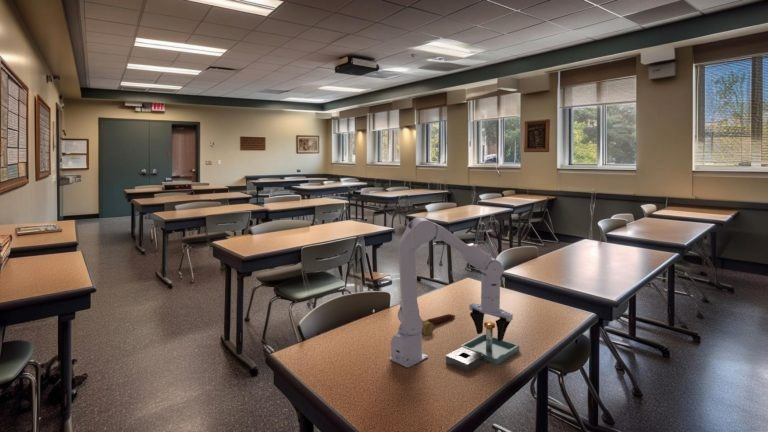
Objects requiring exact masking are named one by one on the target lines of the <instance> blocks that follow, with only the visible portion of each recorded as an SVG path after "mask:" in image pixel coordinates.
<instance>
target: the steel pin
mask: <svg viewBox="0 0 768 432" xmlns="http://www.w3.org/2000/svg"><path fill="white" fill-rule="evenodd" d="M483 328H486V331H485V332H486V333H485V334H486V351H488V352H491V351H492V342H493V337H494V329H495V328H496V322H492V321H485V322H483Z"/></svg>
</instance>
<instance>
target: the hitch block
mask: <svg viewBox="0 0 768 432" xmlns="http://www.w3.org/2000/svg"><path fill="white" fill-rule="evenodd" d="M484 363H485V361H484V355H482V354H479V353H476V352H474V351H471V350H468V349H466V348H463V347H461V348H460V347H458V349H455V350H454V351H451V352H449V353H448V354H445V364H447V365H449V366H452V367H454V368H456V369H459V370H461V371H463V372H465V373H470V372H472V371H473V370H475V369H476V368H478V367H479V366H482V365H483V364H484Z"/></svg>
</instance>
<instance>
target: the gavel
mask: <svg viewBox="0 0 768 432" xmlns="http://www.w3.org/2000/svg"><path fill="white" fill-rule="evenodd" d="M455 318H456V315H455V314H450V313H448V314H444V315H439V316H435V317H433V318H429V319H426V320H423V319H422V321H423V327H422V335H425V336H431V335H432V334H433V331H434V330H435V328H434V327H435V325H439V324H443V323H446V322H450V321H452V320H453V319H455Z"/></svg>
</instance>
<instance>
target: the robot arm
mask: <svg viewBox="0 0 768 432" xmlns="http://www.w3.org/2000/svg"><path fill="white" fill-rule="evenodd" d="M432 240H434V241H443V242H444V243H445V244H448V245H449V246H450V247H452V248H454V249H455V250H456V251H458V252H460V255H461V257H460V258H461V259H462V260H464V261H465V262H466V263H468V264H469V265H471V266H472V267H474V268H475V269H476V270H478V271H480V272H481V275H480V276H481V281H480V282H481V284H480V285H481V286H480V289H481V290H480V303H475V302H472V303H470V304H469V310H470V311H471V312H470V313H469V316H470V318H471V319H472V321H473V323H474V326H475V329H476V330H475V331H476V334H477V335H482V334H483V330H484V318H485V315H489V316H493V317H495V318H498V319H497V320H495V326H496V328H497V329H496V330H497V337H496V338H498V341H502V340H504V337H505V333H506V331H507V328H508V327H509V325H510V323H511V322H512V321H513V313H512V312H511V313H510V312H508V311H506V310H504V309H502V308H500V307H501V306H500V304H501V301H500V300H501V299H500V298H501V277H502V275H503V274H504V272H505V271H504V270H505V269H504V268H503V265H502V263H501V262H500V261H499V260H497V259H496V258H494V257H493V254H491V253H490V252H488V253H487V252H486V251H485V250H483V249H481V245H479V244H477V243H472V242H471V243H466V242H464V241H463V240H462V239H460V238H459V237H458V236H456V235H455V234H453V233H452V232H450V231H449V230H448V229H447V228H445V227H443V226H442V225H439V224H437V223H436V222H434V221H432V220H428V219H427V218H426V217H424V216H416V217H414V218H413V219H412V220H410V221H409V222H408V223H407V225H406V227H405V230H404V232H403V234H402V236H401V238H400V239H399V242H398V244H397V245H398V248H397V249H398V264H399V268H398V269H399V283H400V302H399V310H398V311H397V318H398V321H399V322H400V324H399V326H398V330H397V333H396V334H395V335H394V336H392V338H391V341H390V352H391V353H390V354H391V355H390V356H389V360H391V361H393V362H394V363H396V364H398V365H401V366H404V367H405V368H410V367H412V366H414V365H416V364H417V363H420V362H421V361H423V360H425V359H428V357H429V355H427V354H425V353H423V333H422V327H423V321H424V320H423V319H422V318H421V316H420V309H419V304H418V293H417V292H418V291H417V288H418V287H417V273H416V271H417V269H416V251H417V250H418V249H419V248H420V247H421V246H422V245H424V244H426V243H429V242H431V241H432ZM422 320H423V321H422Z"/></svg>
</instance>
